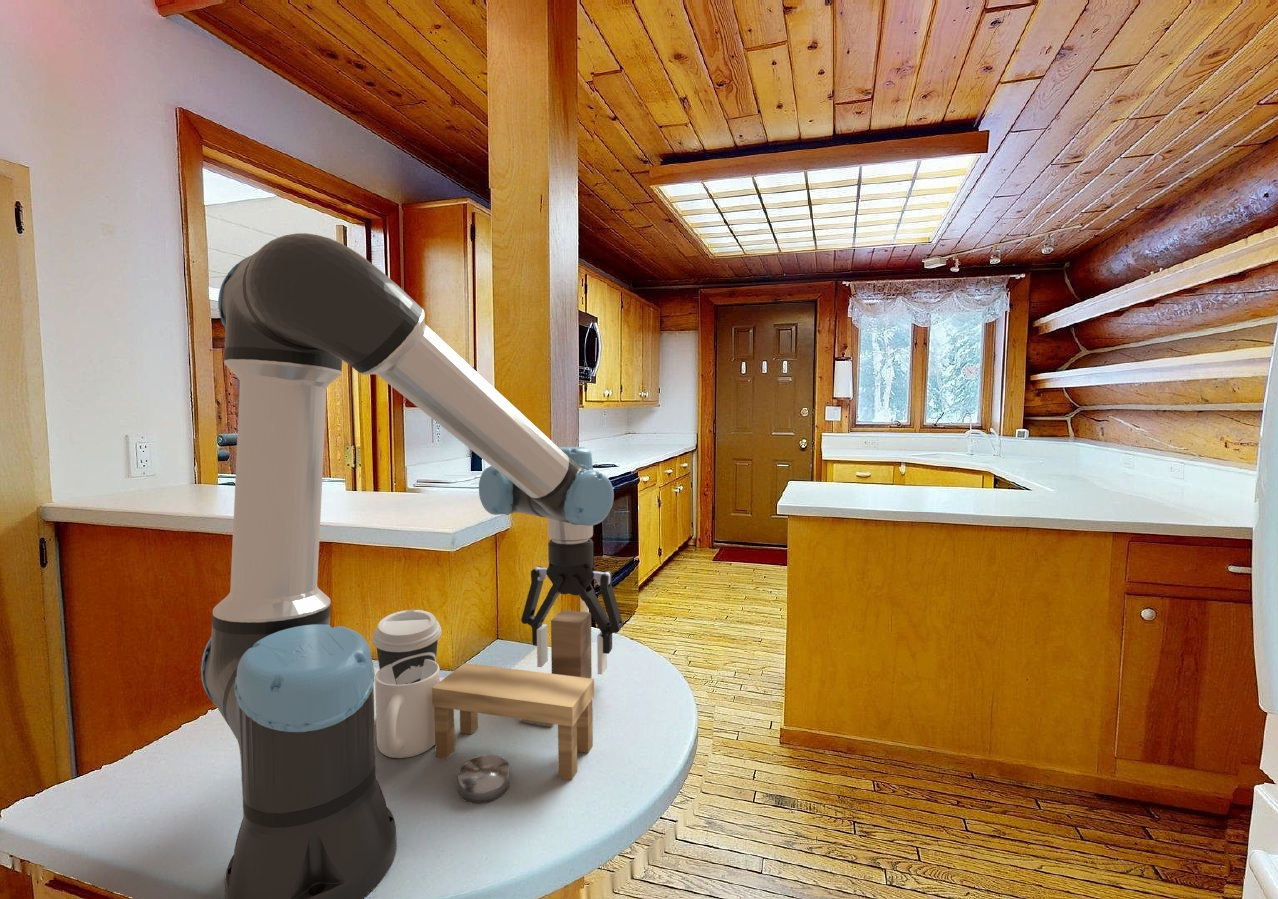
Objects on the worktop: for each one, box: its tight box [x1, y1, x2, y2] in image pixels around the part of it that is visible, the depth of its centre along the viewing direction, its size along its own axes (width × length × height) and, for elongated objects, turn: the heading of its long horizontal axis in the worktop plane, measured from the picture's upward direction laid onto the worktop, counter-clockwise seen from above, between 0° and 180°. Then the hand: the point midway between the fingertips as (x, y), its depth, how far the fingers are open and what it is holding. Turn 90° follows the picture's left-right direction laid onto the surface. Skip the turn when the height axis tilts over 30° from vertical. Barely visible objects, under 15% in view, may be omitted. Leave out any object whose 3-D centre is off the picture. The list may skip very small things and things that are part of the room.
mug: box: [374, 659, 441, 759], centre depth 80 cm, size 12×8×10 cm
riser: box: [432, 662, 595, 781], centre depth 80 cm, size 8×20×10 cm, turn 75°
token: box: [458, 754, 510, 805], centre depth 72 cm, size 6×6×2 cm
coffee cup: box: [371, 609, 443, 685], centre depth 88 cm, size 10×10×15 cm
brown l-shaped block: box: [521, 609, 593, 728], centre depth 94 cm, size 17×5×12 cm, turn 165°
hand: (572, 667), depth 100 cm, fingers open, 10 cm apart
